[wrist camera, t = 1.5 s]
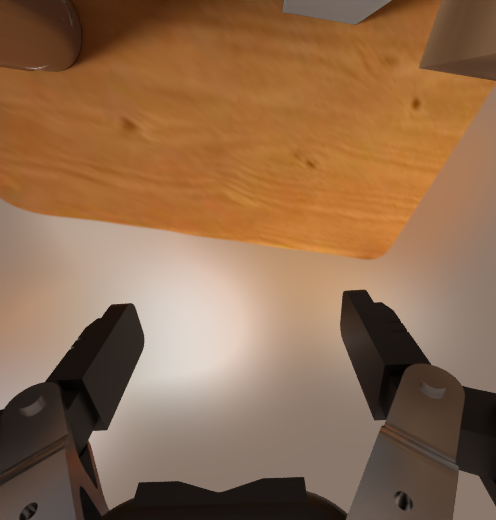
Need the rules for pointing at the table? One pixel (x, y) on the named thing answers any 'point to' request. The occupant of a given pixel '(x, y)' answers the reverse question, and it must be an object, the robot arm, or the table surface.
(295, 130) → the table surface
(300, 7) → the stand
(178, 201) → the table surface
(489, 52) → the walnut bar
